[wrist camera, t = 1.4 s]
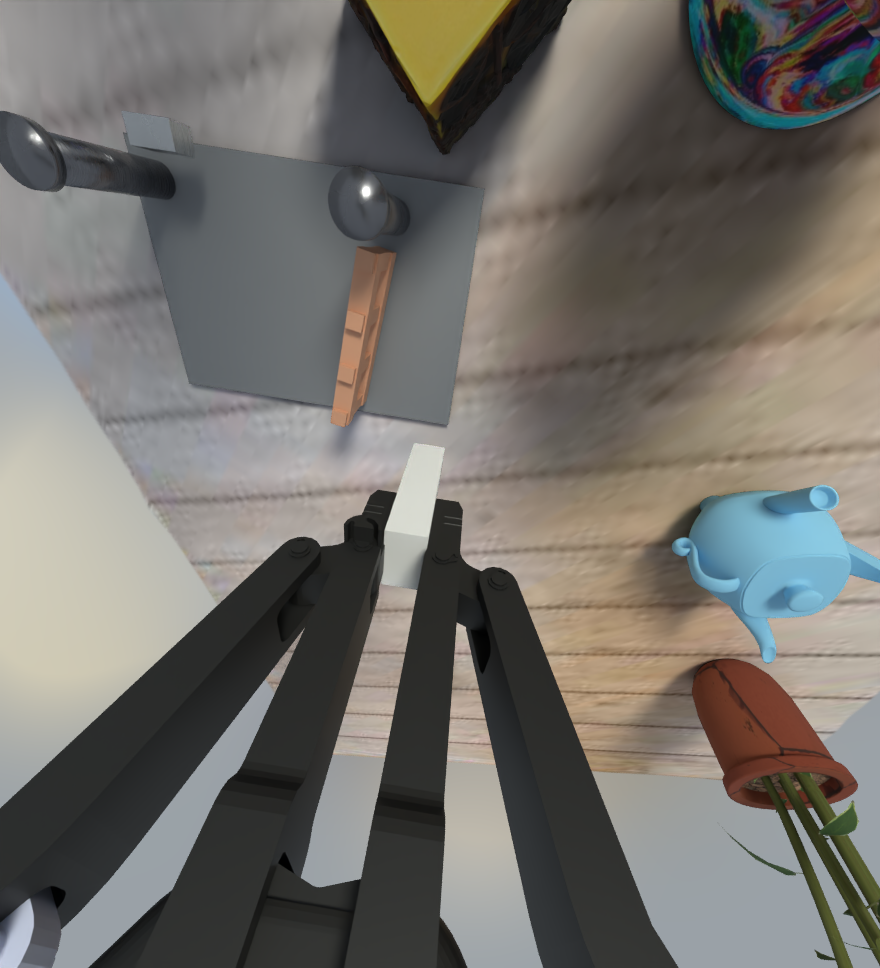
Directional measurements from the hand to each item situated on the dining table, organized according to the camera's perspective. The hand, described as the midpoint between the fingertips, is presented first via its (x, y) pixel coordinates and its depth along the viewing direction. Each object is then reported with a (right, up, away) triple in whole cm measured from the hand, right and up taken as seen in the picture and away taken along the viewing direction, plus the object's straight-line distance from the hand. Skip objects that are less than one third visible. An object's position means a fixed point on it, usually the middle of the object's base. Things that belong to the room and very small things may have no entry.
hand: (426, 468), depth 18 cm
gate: (-5, +13, +14) cm, 20 cm away
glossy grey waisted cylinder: (-3, +20, +10) cm, 23 cm away
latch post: (-19, +23, +10) cm, 32 cm away
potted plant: (+42, -28, +37) cm, 63 cm away
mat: (-11, +16, +14) cm, 23 cm away
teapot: (+34, -5, +23) cm, 42 cm away
